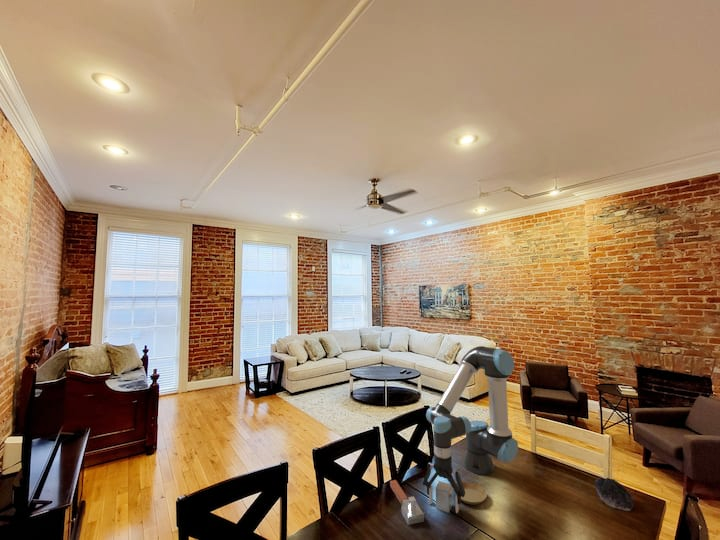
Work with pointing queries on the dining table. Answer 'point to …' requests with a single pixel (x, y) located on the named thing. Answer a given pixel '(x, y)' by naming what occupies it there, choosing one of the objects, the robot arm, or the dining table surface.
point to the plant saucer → (473, 493)
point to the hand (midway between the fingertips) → (443, 506)
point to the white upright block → (443, 496)
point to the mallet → (407, 505)
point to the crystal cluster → (614, 494)
